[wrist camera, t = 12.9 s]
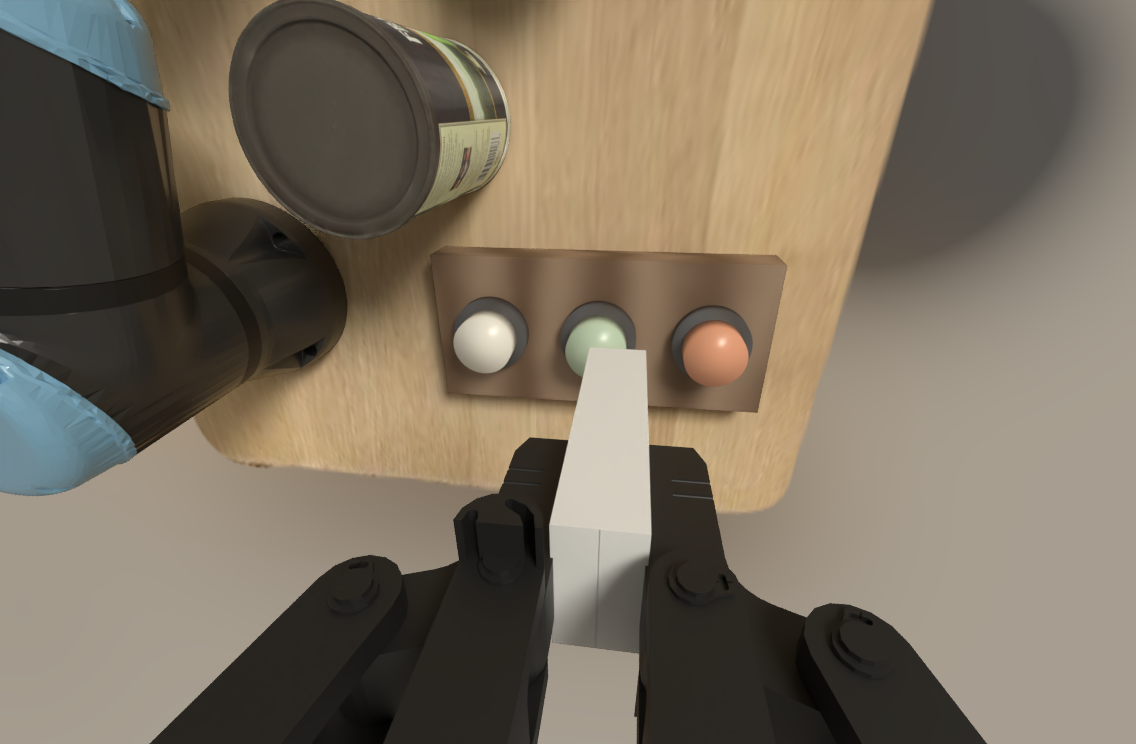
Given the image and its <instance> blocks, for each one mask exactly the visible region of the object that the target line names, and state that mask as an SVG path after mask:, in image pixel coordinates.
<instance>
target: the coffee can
mask: <svg viewBox="0 0 1136 744" xmlns="http://www.w3.org/2000/svg"><path fill="white" fill-rule="evenodd" d="M229 101H230V109H231V113H232V118H233V123H234V127H235V131H236V134H237V136H238V139H239V142H240V145H241V147H242V149H243V151H244V154H245V156H246V158H247V160H248V162H249V163H250V165H251V167H252V169H253V170H254V172H255V174H256V175H257V177H258V178H259V180H260V181H261V182H262V184H263V185H264V186H265V188H266V189H267V190H268V191H269V193H270V194H271V195H272V196H273V197H274V198H275V199H276V200H277V201H278V202H279V203H280V204H281V205H282V206H283V207H284V208H285V209H286V210H287V211H289V212H290V213H291V214H292V215H294V216H295V217H297V218H298V219H300V220H301V221H303V222H304V223H306V224H308V225H309V226H311V227H313V228H315V229H317V230H319V231H322V232H324V233H327V234H329V235H333V236H336V237H341V238H347V239H371V238H375V237H379V236H382V235H385V234H388V233H390V232H392V231H394V230H396V229H398V228H399V227H401V226H402V225H404V224H405V223H407V222H408V221H409V220H410V219H413V218H415V217H417V216H419V215H421V214H423V213H425V212H428V211H430V210H432V209H434V208H436V207H438V206H441V205H443V204H445V203H447V202H449V201H451V200H453V199H455V198H457V197H459V196H461V195H464V194H468V193H471V192H473V191H476V190H477V189H479V188H481V187H482V186H484V185H485V184H486V183H488V182H489V181H490V180H491V179H492V178H493V177H494V176H495V174H496V173H497V171H498V170H499V168H500V166H501V165H502V163H503V160H504V158H505V155H506V153H507V149H508V145H509V139H510V123H511V121H510V114H509V108H508V103H507V100H506V97H505V94H504V91H503V88H502V86H501V84H500V82H499V81H498V79H497V77H496V75H495V74H494V72H493V71H492V69H491V68H490V67H489V65H488V64H487V63H486V62H485V61H484V60H483V59H482V58H481V57H480V56H479V55H478V54H477V53H476V52H474V51H473V50H472V49H470V48H469V47H467V46H465V45H463V44H462V43H459V42H457V41H454V40H452V39H448V38H443V37H437V36H434V35H431V34H427V33H424V32H421V31H418V30H414V29H411V28H408V27H405V26H402V25H399V24H396V23H393V22H390V21H387V20H384V19H381V18H377V17H374V16H371V15H368V14H365V13H362V12H361V11H359V10H357V9H355V8H353V7H351V6H349V5H346V4H344V3H341V2H339V1H335V0H279V1H276V2H274V3H272V4H271V5H269V6H267V7H265V8H264V9H262V10H261V11H260V12H259V13H258V14H256V15H255V16H254V17H253V18H252V20H251V21H250V22H249V24H248V25H247V26H246V28H245V29H244V30H243V32H242V34H241V35H240V37H239V39H238V42H237V44H236V47H235V50H234V53H233V57H232V61H231V66H230V73H229Z"/></svg>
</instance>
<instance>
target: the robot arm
mask: <svg viewBox="0 0 1136 744" xmlns="http://www.w3.org/2000/svg"><path fill="white" fill-rule="evenodd" d="M167 111H170V105H169V101H168V100H167V99H166V98H165V97H164V94H163V90H162V85H161V80H160V76H159V71H158V66H157V62H156V57H155V51H154V46H153V40H152V36H151V33H150V30H149V28H148V26H147V24H146V22H145V20H144V19H143V17H142V16H141V14H140V13H139V12H138V11H137V9H136V8H135V7H134V6H133V5H132V4H131V3H130V2H129V1H128V0H0V492H4V493H9V494H15V495H25V496H44V495H52V494H57V493H61V492H65V491H68V490H71V489H73V488H76V487H78V486H80V485H82V484H83V483H85V482H87V481H88V480H90V479H92V478H94V477H96V476H98V475H99V474H101V473H103V472H105V471H106V470H108V469H110V468H112V467H113V466H115V465H117V464H123V463H125V462H127V461H129V460H130V459H131V458H133V457H134V456H135V455H136V454H138V453H139V452H141V451H142V450H144V449H145V448H147V447H148V446H150V445H151V444H153V443H154V442H156V441H157V440H159V439H160V438H162V437H163V436H165V435H166V434H168V433H169V432H171V431H172V430H174V429H175V428H177V427H178V426H180V425H181V424H182V423H184V422H186V421H187V420H189V419H190V418H191V417H193V416H194V415H196V414H197V413H199V412H200V411H202V410H203V409H205V408H206V407H208V406H209V405H211V404H212V403H214V402H215V401H217V400H218V399H220V398H221V397H223V396H224V395H226V394H227V393H229V392H230V391H232V390H233V389H235V388H236V387H238V386H239V385H241V384H243V383H244V382H246V381H250V380H255V379H260V378H264V377H269V376H274V375H279V374H283V373H288V372H293V371H296V370H299V369H301V368H304V367H306V366H308V365H310V364H312V363H313V362H315V361H316V360H317V359H319V358H320V357H322V356H323V355H324V354H326V353H327V352H328V351H330V350H331V349H332V348H333V346H334V345H335V344H336V343H337V341H338V340H339V338H340V336H341V334H342V332H343V329H344V326H345V321H346V314H347V302H346V294H345V289H344V285H343V282H342V279H341V276H340V274H339V271H338V269H337V267H336V265H335V263H334V261H333V259H332V258H331V256H330V254H329V253H328V251H327V250H326V248H325V247H324V246H323V244H322V243H321V242H320V241H319V240H318V238H317V237H316V236H315V235H314V234H313V233H312V232H311V231H310V230H309V229H308V228H307V227H306V226H305V225H303V224H302V223H301V222H300V221H298V220H297V219H296V218H294V217H293V216H291V215H290V214H288V213H287V212H285V211H283V210H281V209H279V208H277V207H275V206H273V205H271V204H268V203H265V202H262V201H259V200H254V199H248V198H229V199H222V200H217V201H211V202H206V203H202V204H199V205H197V206H194V207H192V208H190V209H188V210H186V211H185V212H183V213H182V214H181V215H180V210H179V203H178V196H177V189H176V182H175V176H174V168H173V160H172V151H171V143H170V135H169V127H168V119H167ZM453 521H454V528H455V535H456V542H457V549H458V556H459V561H457V562H455V563H453V564H450V565H448V566H445V567H442V568H438V569H434V570H428V571H423V572H416V573H411V574H405V575H401V572H400V570H399V568H398V566H397V564H395V563H394V562H392V561H390V560H389V559H387V558H386V557H380V556H373V555H368V556H362V557H356V558H352V559H349V560H347V561H345V562H342V563H340V564H338V565H335V566H334V567H332V568H331V569H330V570H328V571H327V572H326V573H325V574H324V575H322V576H321V577H319V578H318V579H317V580H316V581H315V582H314V583H313V584H312V585H311V586H310V587H309V588H308V589H307V590H306V591H305V592H304V593H303V594H302V595H301V596H300V597H299V598H298V599H297V600H296V601H295V602H294V603H293V604H292V605H291V606H290V607H289V608H288V609H287V610H286V611H285V612H283V613H282V614H281V616H279V617H278V618H277V619H276V620H275V621H274V622H273V623H272V624H271V625H270V626H269V627H268V628H267V629H266V630H265V631H264V632H263V633H262V634H261V635H260V636H259V637H258V638H257V639H256V640H255V641H254V642H253V643H252V644H251V645H250V646H249V647H248V648H247V649H246V650H245V651H244V652H243V653H242V654H241V655H240V656H239V657H238V658H237V659H236V660H235V661H234V662H232V663H231V665H229V666H228V667H227V668H226V669H225V670H224V671H223V672H222V674H220V675H219V676H218V677H217V678H216V679H215V680H214V681H213V682H212V683H211V684H210V685H209V686H208V687H207V688H206V689H205V690H204V691H203V692H202V693H201V694H200V695H199V696H198V697H197V698H196V699H195V700H194V701H193V702H192V703H191V704H190V705H189V706H188V707H187V708H186V709H185V710H184V711H183V712H181V714H179V715H178V717H176V718H175V719H174V720H173V721H172V722H171V723H170V724H169V725H168V726H167V727H166V728H165V729H164V730H163V731H162V732H161V733H160V734H159V735H158V736H157V737H156V738H155V739H154V740H153V741H152V742H151V743H150V744H537V742H538V736H539V730H540V723H541V717H542V711H543V705H544V698H545V693H546V687H547V680H548V651H549V646H550V640H551V635H552V642H553V643H559V644H567V645H575V646H583V647H591V648H599V649H607V650H615V651H623V652H631V653H639V676H638V685H637V695H636V704H635V714H634V716H635V717H637V744H987V743H986V742H985V741H984V740H983V738H982V737H981V735H980V734H979V733H978V732H977V730H976V729H975V728H974V727H973V725H972V724H971V723H970V721H969V720H968V719H967V717H966V716H965V715H964V714H963V712H962V711H961V710H960V708H959V707H958V706H957V704H956V703H955V702H954V701H953V699H952V698H951V697H950V695H949V694H948V693H947V692H946V690H945V689H944V688H943V686H942V685H941V684H940V683H939V681H938V680H937V679H936V677H935V676H934V675H933V674H932V672H931V671H930V670H929V668H928V667H927V666H926V664H925V663H924V662H923V661H922V659H921V658H920V657H919V656H918V654H917V653H916V652H915V650H914V649H913V648H912V646H911V645H910V644H909V643H908V642H907V641H906V640H905V639H904V638H903V637H902V636H901V635H900V634H899V633H898V632H897V631H896V630H895V629H894V628H893V627H892V626H891V625H890V624H888V623H886V622H885V621H883V620H882V619H880V618H879V617H877V616H875V615H874V614H872V613H871V612H868V611H865V610H862V609H860V608H857V607H854V606H851V605H846V604H832V603H830V604H826V605H823V606H820V607H817V608H814V610H813V611H812V612H811V613H810V614H809V616H808V617H807V618H806V617H804V616H801V615H798V614H796V613H793V612H791V611H788V610H785V609H783V608H780V607H777V606H775V605H772V604H770V603H768V602H766V601H764V600H762V599H760V598H758V597H757V596H755V595H754V594H752V593H751V592H749V591H748V590H746V589H745V588H744V587H743V586H742V585H741V584H740V583H739V582H738V580H737V578H736V576H735V575H734V573H733V572H732V571H731V570H730V569H729V568H728V565H727V562H726V559H725V555H724V550H723V545H722V540H721V535H720V530H719V526H718V521H717V515H716V510H715V505H714V500H713V495H712V490H711V485H710V480H709V475H708V470H707V465H706V463H705V462H704V461H703V459H702V458H701V457H700V456H699V454H698V453H697V452H696V451H695V450H694V448H685V447H672V446H659V445H649V432H648V398H647V364H646V350H630V349H611V348H591V347H590V349H589V353H588V357H587V362H586V366H585V371H584V375H583V379H582V384H581V388H580V393H579V397H578V401H577V406H576V410H575V414H574V419H573V423H572V428H571V432H570V436H569V440H557V439H543V438H529V439H528V440H527V441H525V442H524V443H523V444H522V445H521V446H520V447H519V448H518V449H517V450H515V453H514V455H513V458H512V461H511V463H510V466H509V470H508V471H507V473H506V476H505V479H504V484H502V486H501V489H500V492H499V494H490V495H487V496H484V497H481V498H477V499H475V500H474V501H472V502H471V503H469V504H467V505H466V506H464V507H463V508H462V509H461V510H460V512H459V513H458V514H457V516H456V517H455V518H454V520H453Z"/></svg>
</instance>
